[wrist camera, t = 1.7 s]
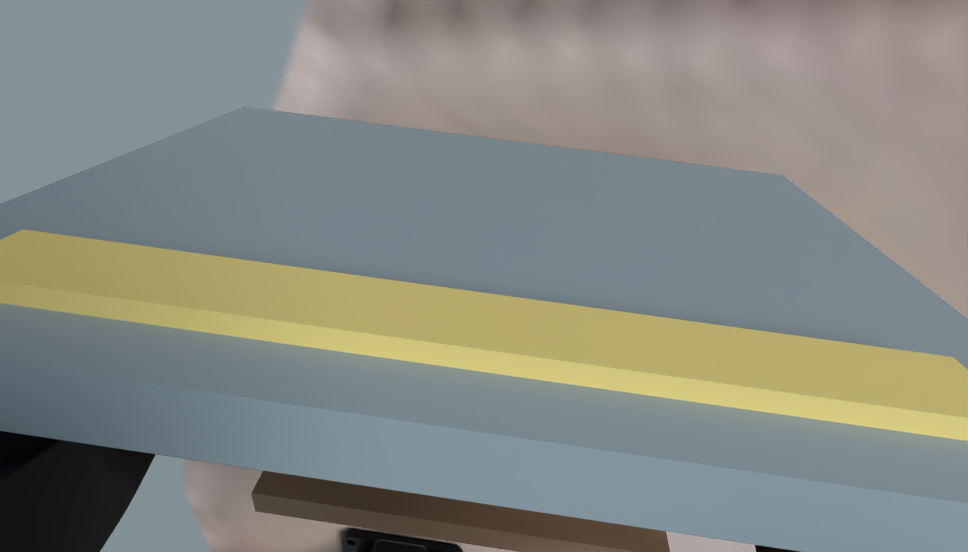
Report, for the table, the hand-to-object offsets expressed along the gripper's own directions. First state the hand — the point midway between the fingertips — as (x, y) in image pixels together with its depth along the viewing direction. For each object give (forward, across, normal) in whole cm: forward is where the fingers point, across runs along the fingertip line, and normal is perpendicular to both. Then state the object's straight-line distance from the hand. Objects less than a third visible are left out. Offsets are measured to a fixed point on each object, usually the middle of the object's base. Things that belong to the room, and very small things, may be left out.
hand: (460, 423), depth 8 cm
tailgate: (+9, 0, 0) cm, 9 cm away
